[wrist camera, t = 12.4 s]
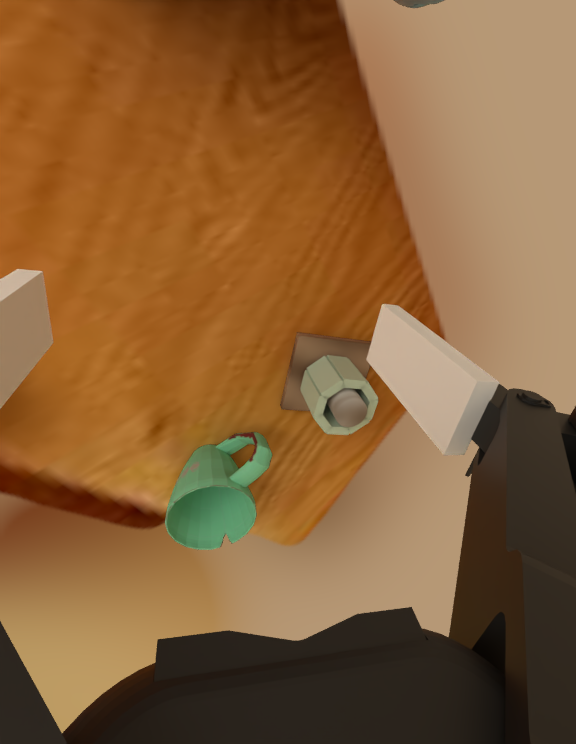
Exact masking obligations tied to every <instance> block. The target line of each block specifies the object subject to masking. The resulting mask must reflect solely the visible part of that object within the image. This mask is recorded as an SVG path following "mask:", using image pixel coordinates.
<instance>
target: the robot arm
mask: <svg viewBox="0 0 576 744" xmlns="http://www.w3.org/2000/svg"><path fill="white" fill-rule="evenodd" d="M394 1H395V2H397V3H398V4H400V5H402V6H406V7H410V8H419V7H423V6H426V5H429V4H436V3H439V2H442V1H444V0H394ZM52 344H53V337H52V330H51V324H50V317H49V310H48V304H47V297H46V290H45V283H44V277H43V271H34V270H24V269H17V270H15V271H13V272H12V273H10V274H8V275H7V276H5V277H3V278H2V279H0V409H1V407H2V406H3V405H4V404H5V402H6V401H7V400H8V399H9V397H10V396H11V395H12V394H13V392H14V391H15V390H16V389H17V388H18V386H19V385H20V384H21V383H22V381H23V380H24V379H25V378H26V376H27V375H28V374H29V373H30V371H31V370H32V369H33V368H34V366H35V365H36V364H37V363H38V361H39V360H40V359H41V358H42V356H43V355H44V354H45V353H46V351H47V350H48V349H49V348H50V346H51V345H52ZM366 360H367V361H368V363H369V364H370V365H371V366H372V368H373V369H374V370H375V371H376V373H377V374H378V375H379V376H380V377H381V379H382V380H383V381H384V382H385V384H386V385H387V386H388V387H389V389H390V390H391V391H392V392H393V393H394V395H395V396H396V397H397V398H398V400H399V401H400V402H401V403H402V405H403V406H404V407H405V408H406V409H407V411H408V412H409V413H410V414H411V416H412V417H413V418H414V419H415V421H416V422H417V423H418V424H419V425H420V427H421V428H422V429H423V430H424V432H425V433H426V434H427V435H428V436H429V438H430V439H431V440H432V441H433V443H434V444H435V445H436V446H437V447H438V449H439V450H440V451H441V453H442V454H443V455H464V454H465V452H466V450H467V448H468V446H469V444H470V442H471V440H473V441H474V442H475V443H476V444H477V445H478V446H479V449H478V451H477V453H476V455H475V457H474V459H473V461H472V463H471V465H470V467H469V469H468V471H467V473H466V476H470V474H472V476H471V484H470V491H469V498H468V505H467V512H466V519H465V527H464V534H463V541H462V548H461V555H460V562H459V570H458V577H457V584H456V591H455V598H454V605H453V613H452V619H451V627H450V633H449V637H446V636H444V635H442V634H439V633H436V632H433V631H429V630H426V629H422V628H421V626H420V624H419V622H418V620H417V618H416V616H415V614H414V611H413V609H412V607H409V608H401V609H394V610H386V611H378V612H370V613H362V614H357V615H354V616H352V617H350V618H348V619H346V620H344V621H342V622H340V623H338V624H336V625H333V626H331V627H329V628H327V629H325V630H323V631H321V632H319V633H317V634H315V635H313V636H310V637H308V638H306V639H304V640H300V641H292V640H286V639H279V638H273V637H266V636H260V635H253V634H247V633H241V632H234V631H221V632H213V633H205V634H197V635H189V636H182V637H174V638H166V639H158V642H157V652H156V663H154V664H152V665H149V666H147V667H145V668H143V669H140V670H138V671H137V672H135V673H133V674H132V675H130V676H128V677H126V678H125V679H123V680H121V681H120V682H118V683H117V684H116V685H114V686H113V687H112V688H110V689H109V690H107V691H106V692H105V693H103V694H102V695H101V696H100V697H99V698H97V699H96V700H95V701H94V702H93V703H92V704H91V705H90V706H88V707H87V708H86V709H85V710H84V711H83V712H82V713H81V714H80V715H79V716H78V717H77V718H76V719H75V721H74V722H73V723H72V724H71V725H70V726H69V727H68V728H67V729H66V730H65V731H64V732H63V733H61V731H60V729H59V728H58V726H57V724H56V722H55V720H54V718H53V717H52V715H51V713H50V711H49V709H48V708H47V706H46V704H45V702H44V700H43V698H42V697H41V695H40V693H39V691H38V689H37V688H36V686H35V684H34V682H33V680H32V678H31V677H30V675H29V673H28V671H27V669H26V667H25V666H24V664H23V662H22V661H21V659H20V657H19V655H18V653H17V651H16V649H15V647H14V646H13V644H12V642H11V640H10V638H9V637H8V635H7V633H6V631H5V629H4V627H3V626H2V624H1V622H0V744H576V407H575V409H574V410H573V412H572V413H571V415H568V414H563V413H558V412H556V410H555V407H554V406H553V404H552V403H551V402H550V401H548V400H546V399H545V398H543V397H542V396H540V395H539V394H537V393H534V392H531V391H526V390H522V389H509V390H507V389H506V388H504V387H503V386H502V385H500V384H499V381H497V380H496V379H495V378H493V377H492V376H491V375H489V374H488V373H487V372H485V371H484V370H483V369H481V368H480V367H479V366H477V365H476V364H475V363H473V362H472V361H471V360H470V359H468V358H467V357H466V356H464V355H463V354H462V353H460V352H459V351H458V350H456V349H455V348H454V347H452V346H451V345H450V344H448V343H447V342H446V341H444V340H443V339H442V338H440V337H439V336H438V335H436V334H435V333H434V332H432V331H431V330H430V329H429V328H427V327H426V326H425V325H423V324H422V323H421V322H419V321H418V320H417V319H415V318H414V317H413V316H411V315H410V314H409V313H407V312H406V311H405V310H403V309H402V308H401V307H399V306H398V305H388V304H382V307H381V310H380V314H379V317H378V321H377V324H376V328H375V331H374V335H373V338H372V342H371V345H370V349H369V352H368V356H367V359H366Z"/></svg>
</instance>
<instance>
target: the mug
mask: <svg viewBox="0 0 576 744" xmlns="http://www.w3.org/2000/svg"><path fill="white" fill-rule="evenodd" d="M248 444H255V446H256V447H255V450H254V452H253V455H252V457H251V458H250V459H249V460H248V461H247V462H246V463H245V464H244V466H242V467H241V468H240V469H239V468H238V467H237V465H236V464H235V462H234V460H233V459H232V458H231V456H230V455H232V454H233V453H235V452H237V451H238V450H240V449H241V448H243V447H245V446H246V445H248ZM271 458H272V453H271V450H270V448H269V445H268V443H267V441H266V439H265V438H264V436H263V435H261V434H259V433H256V432H251V433H236V434H234V435H233V436H231V437H229V438H228V439H226V440H225V441H223V442H222V443H220V444H219V445H204V446H202V447H199V448H198V449H197V450H195V451H194V453H193V454H192V456H191V457H190V459H189V460H188V462H187V463H186V465H185V466H184V468H183V470H182V472H181V474H180V476H179V478H178V480H177V482H176V485H175V487H174V489H173V492H172V495H171V498H170V501H169V504H168V507H167V513H166V519H165V525H166V528H167V532H168V534H169V535H170V536H171V537H172V538H173V539H174V540H175V541H176V542H178V543H179V544H181V545H183V546H185V547H189V548H193V549H198V550H199V549H200V550H212V549H215V548H220V547H221V545H222V543H223V538H224V536H225V534H227V536H228V538H229V540H230V542H231V543H234V542H236V541H238V540H239V539H241V538H242V537H243V536H244V535H246V534H247V533H248V532H249V530H250V529H251V528H252V526H253V525H254V522H255V519H256V516H257V513H256V505H255V500H254V497H253V495H252V493H251V491H250V490H249V488H248V485H250V484H251V483H252V482H254V481H255V480H256V479H257V478H259V477H260V476H261V475H262V474H263V473H264V472H265V471H266V470H267V469H268V468H269V465H270V462H271Z"/></svg>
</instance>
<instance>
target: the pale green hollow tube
mask: <svg viewBox="0 0 576 744" xmlns="http://www.w3.org/2000/svg"><path fill="white" fill-rule="evenodd" d="M343 388H353V389H355V390H356V392H357V393H358V394H359V396H360V397H361V399H362V400H363V401H364V403H365V404H366V406H367V415H366V417H365V419H364V420H363V421H362V422H361V423H359V424H358V425H356V426H353V427H343V426H341V425H340V424H339V423H338V422H337V420H336V419H335V417H334V415H333V413H332V412H331V410H330V408H329V406H328V404H327V403H326V402H327V399H328V398H329V397H331V396H332V395H334V394H335V393H337V392H338V391H340V390H341V389H343ZM300 389H301V393H302V395H303V397H304V399H305V401H306V403H307V405H308V407H309V409H310V412H311V414H312V416H313V418H314V419H315V421H316V422H317V423H318V424H319V426H320V427H321V428H322V430H323V431H324V432H325V433H327V434H337V435H349V433H350V434H352V433H354V432H355V431H357V430H358V429H360V428H361V427H363V426H364V425H366V424H368V423H369V422H370V421H369V420H372V417H373V415H374V412H375V409H376V406H377V404H378V401H379V400H378V397H377V395H376V394H375V392H374V390H373V389H372V387H371V386H370V384H369V382H368V381H367V380H366V379H365V377H364V376H363V375H362V374H361V373H360V371H359V370H358V369H357V368H356V367H355V365H354V364H353V363H352V362H351V360H350V359H349V358H347V357H340V356H332V355H327V356H326V357H325V356H323V357H322V358H320V359H319V360H317V361H316V362H314V363H313V364H311V365H310V366H309V367H307V370H305V372H304V376H303V380H302V384H301V388H300Z"/></svg>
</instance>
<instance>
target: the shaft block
mask: <svg viewBox="0 0 576 744" xmlns="http://www.w3.org/2000/svg"><path fill="white" fill-rule="evenodd" d="M370 345H371V342H369V341H361V340H353V339H345V338H337V337H330V336H322V335H314V334H306V333H298V332H297V335H296V340H295V344H294V348H293V353H292V357H291V361H290V365H289V370H288V374H287V378H286V383H285V387H284V391H283V396H282V400H281V404H280V406H281V408H282V409H286V410H301V411H310V409H309V407H308V405H307V403H306V401H305V399H304V397H303V395H302V393H301V389H300V388H301V384H302V380H303V376H304V372H305V370H307V367H309V366H310V365H311V364H313V363H314V362H316V361H317V360H319V359H320V358H322V357H323V356H325V357H326V356H327V355H332V356H340V357H347V358H349V359H350V360H351V362H352V363H353V364H354V365H355V367H356V368H357V369H358V370H359V371H360V373H361V374H362V375H363V376H364V377H365V379H366V376H367V373H368V371H369V368H370V364H369V363H368V361H367V360H366V359H367V356H368V352H369V349H370ZM326 403H327V404H328V406H329V408H330V410H331V412H332V413H333V415H334V417H335V419H336V420H337V422H338V423H339V424H340V425H341V426H343V427H353V426H356V425H358V424H359V423H361V422H362V421H363V420H364V419H365V417H366V415H367V406H366V404H365V403H364V401H363V400H362V399H361V397H360V396H359V394H358V393H357V392H356V390H355V389H353V388H343V389H341V390H340V391H338V392H337V393H335V394H334V395H332V396H331V397H329V398H328V399H327V402H326Z"/></svg>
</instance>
